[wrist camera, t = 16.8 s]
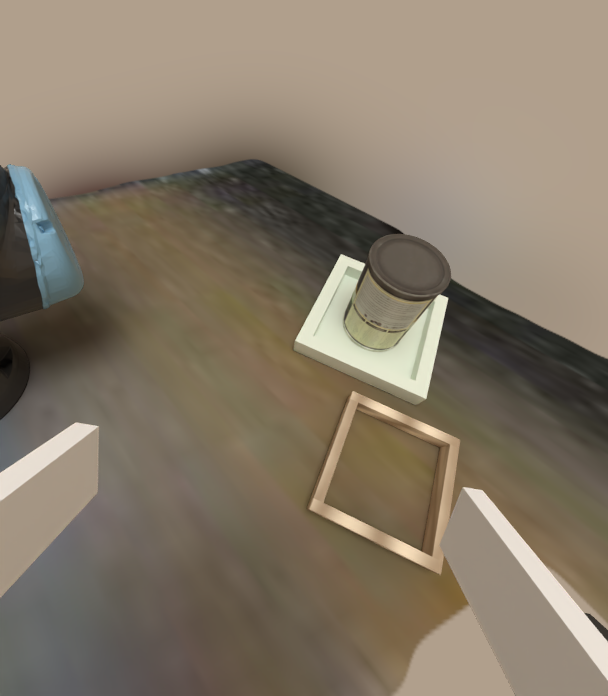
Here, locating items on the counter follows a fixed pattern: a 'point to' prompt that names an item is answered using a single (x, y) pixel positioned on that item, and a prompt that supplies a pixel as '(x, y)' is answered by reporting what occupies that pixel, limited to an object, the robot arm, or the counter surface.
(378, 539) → the collar
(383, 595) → the counter surface
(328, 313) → the tray
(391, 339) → the coffee can
